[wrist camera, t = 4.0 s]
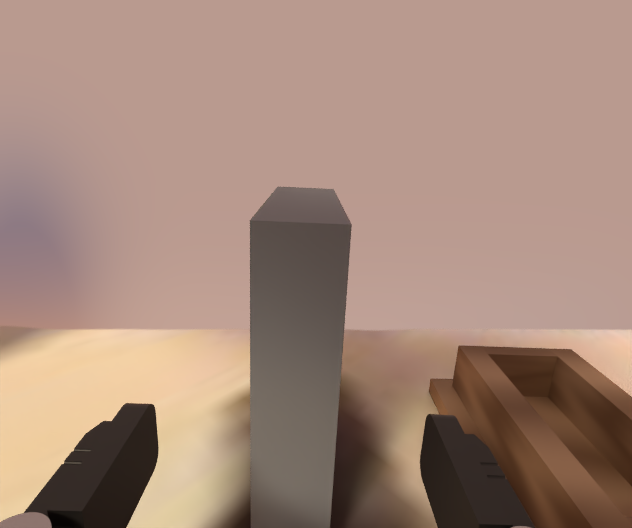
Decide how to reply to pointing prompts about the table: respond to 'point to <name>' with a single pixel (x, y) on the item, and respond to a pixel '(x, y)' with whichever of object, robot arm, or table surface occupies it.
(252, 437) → the grey upright flat block
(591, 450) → the rack
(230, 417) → the table surface
